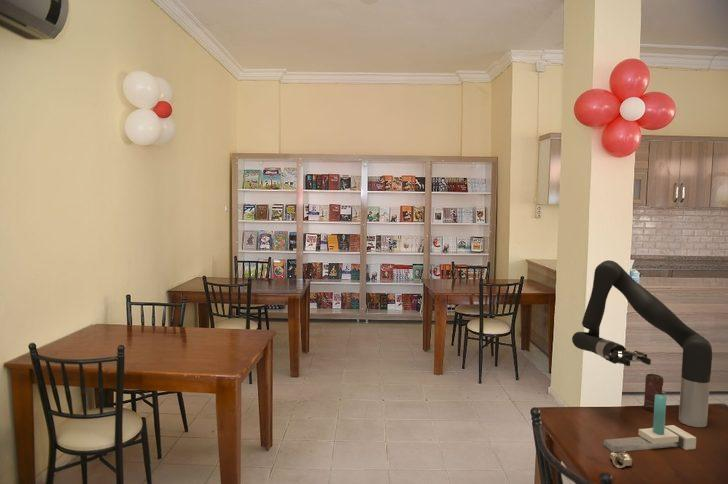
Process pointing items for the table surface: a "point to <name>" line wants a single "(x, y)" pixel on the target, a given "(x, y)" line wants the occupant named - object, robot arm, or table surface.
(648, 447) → the rail
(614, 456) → the silver metal fitting
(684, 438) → the end stop
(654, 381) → the can
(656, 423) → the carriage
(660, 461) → the table surface
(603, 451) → the table surface
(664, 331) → the robot arm
